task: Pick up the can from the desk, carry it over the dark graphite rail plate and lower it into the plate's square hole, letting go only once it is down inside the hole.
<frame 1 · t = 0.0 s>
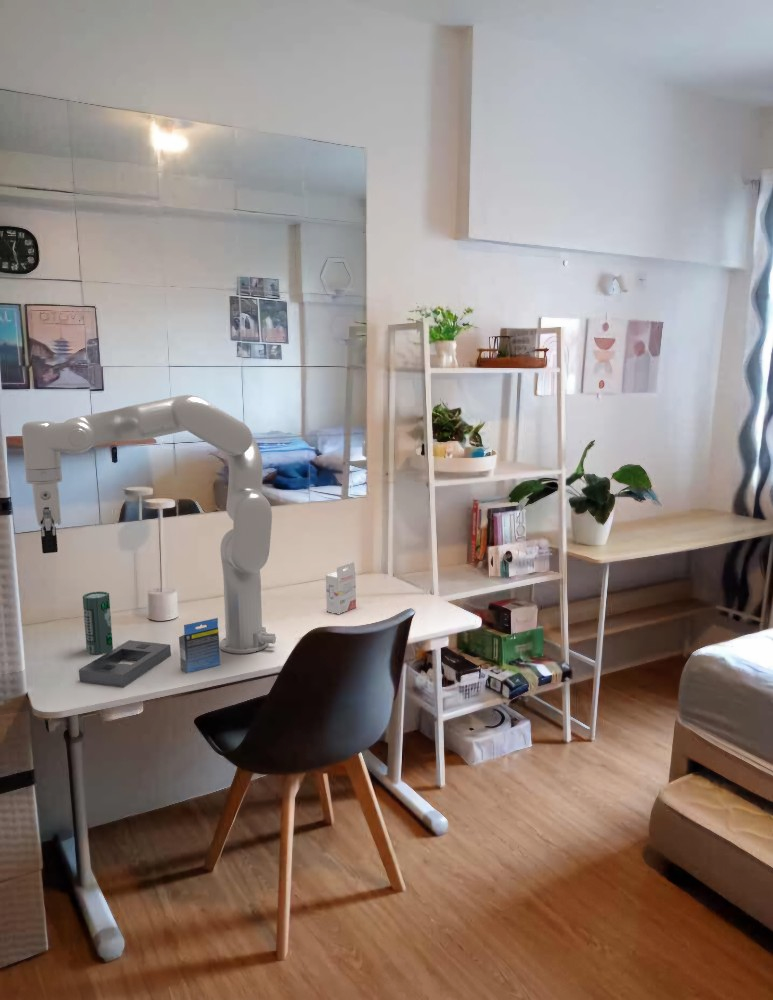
hand: (49, 548, 176), 31 cm above the table, tool pointing down, fingers open, 9 cm apart
can: (99, 651, 197), on the table
label tape cartridge: (200, 667, 186), on the table
ink cartridge box: (341, 610, 229), on the table
rail plate: (127, 668, 185), on the table
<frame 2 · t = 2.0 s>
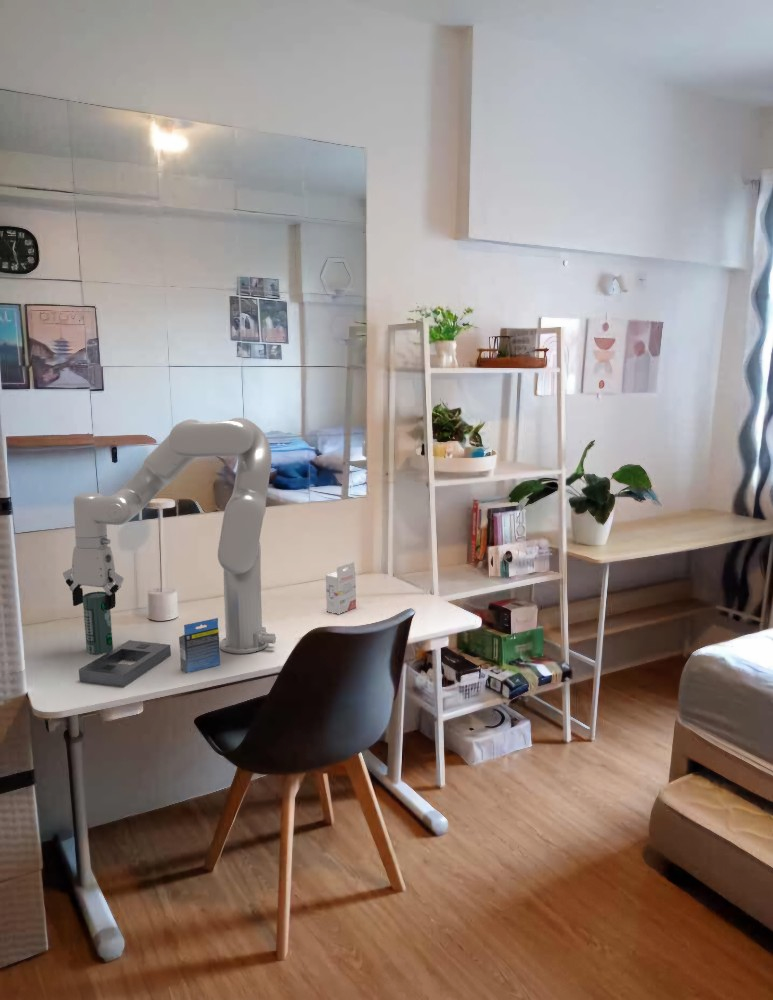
hand: (94, 606, 195), 12 cm above the table, tool pointing down, fingers open, 9 cm apart
nothing on the table moved.
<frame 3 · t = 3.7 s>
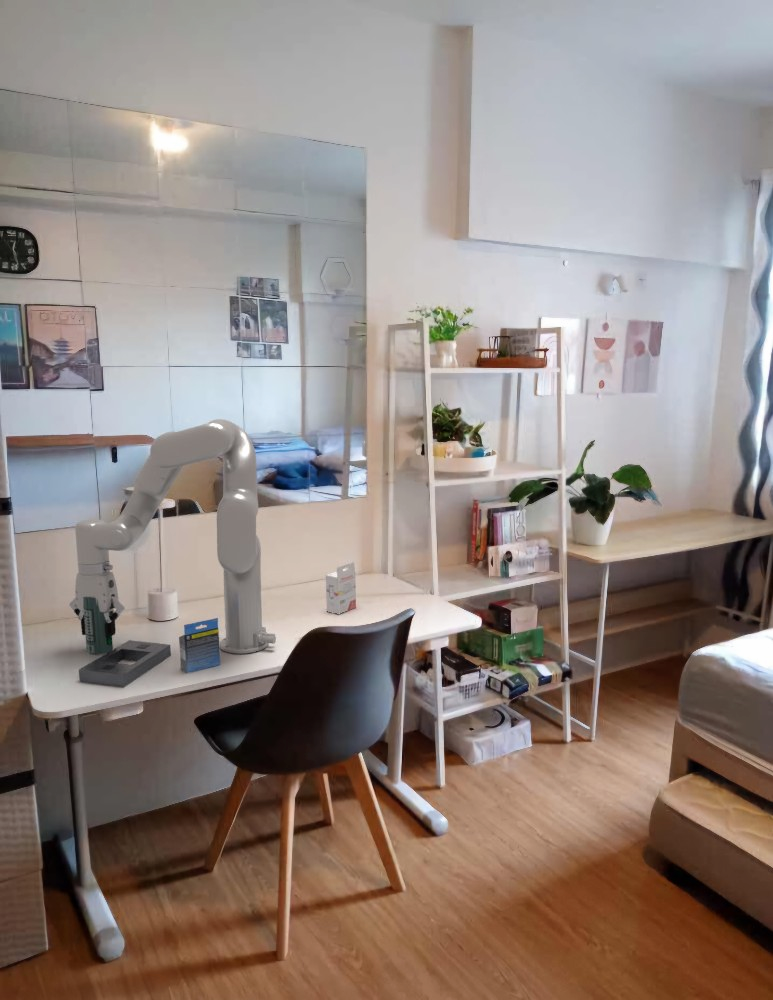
hand: (98, 634, 196), 4 cm above the table, tool pointing down, fingers closed on can, 6 cm apart
can: (99, 650, 197), on the table, touching gripper
everything else where it was.
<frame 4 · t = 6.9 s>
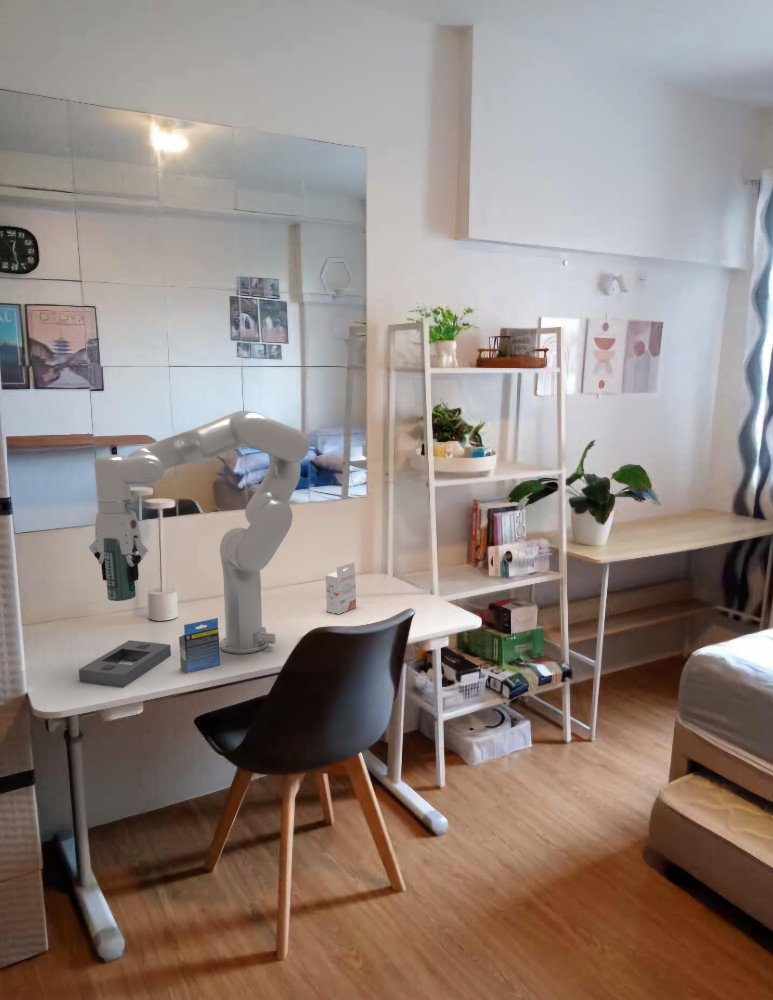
hand: (120, 579, 182), 22 cm above the table, tool pointing down, fingers closed on can, 6 cm apart
can: (122, 597, 183), point 18 cm above the table, touching gripper
everything else where it was.
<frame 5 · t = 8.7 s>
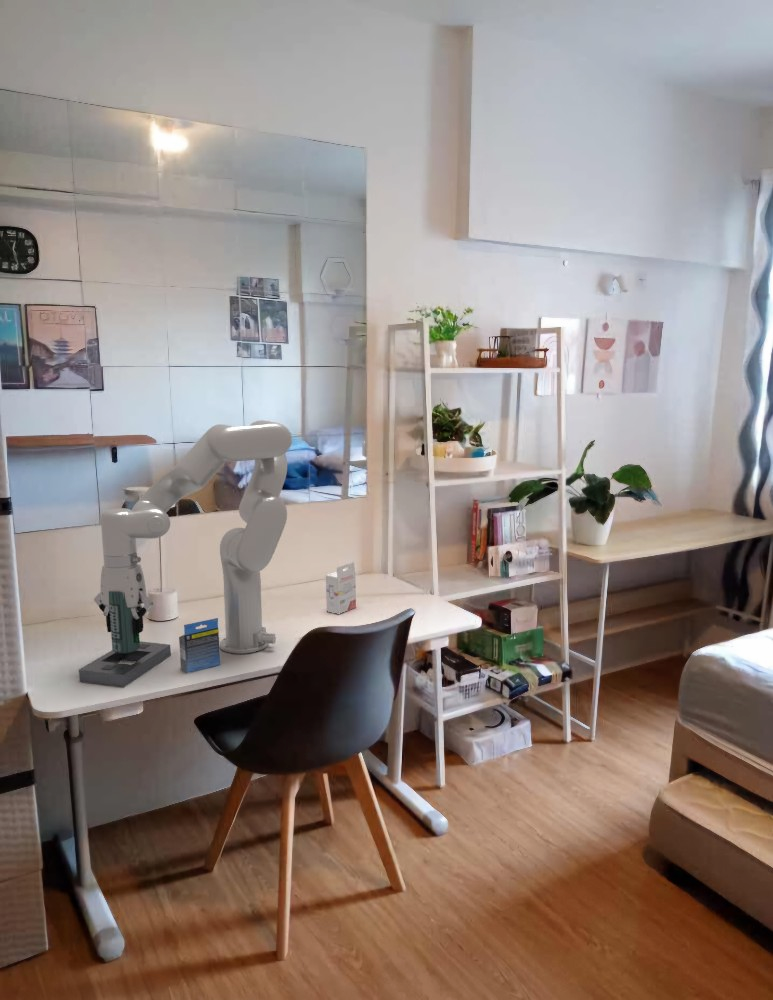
hand: (125, 631, 183), 10 cm above the table, tool pointing down, fingers closed on can, 6 cm apart
can: (126, 649, 184), point 5 cm above the table, touching gripper
everything else where it was.
when the fingers open (6 cm above the table, at t = 10.4 s): can drops 1 cm, resting in rail plate.
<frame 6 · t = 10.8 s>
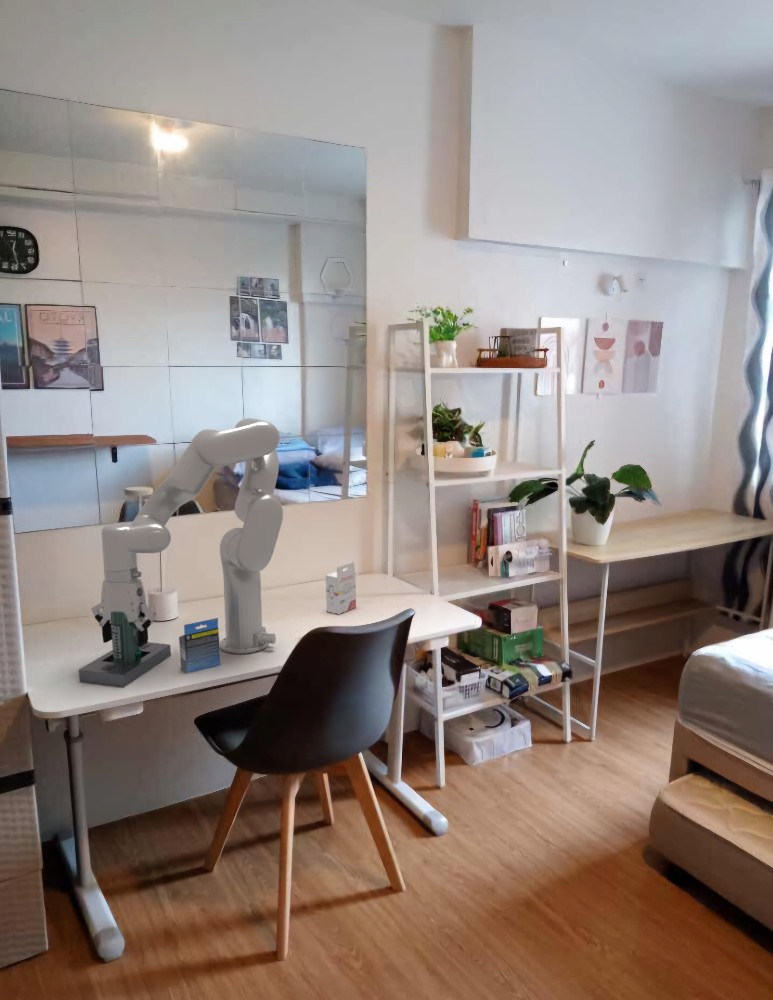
hand: (125, 642, 184), 7 cm above the table, tool pointing down, fingers open, 9 cm apart
can: (127, 668, 185), resting in rail plate
everything else where it was.
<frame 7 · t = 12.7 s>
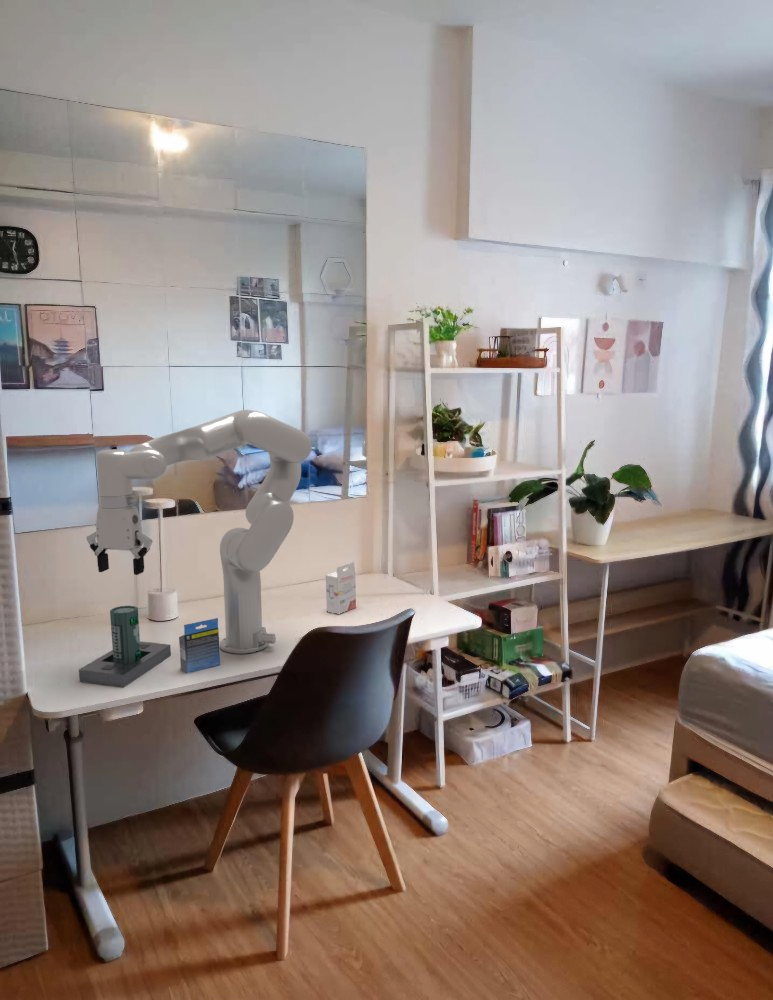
hand: (121, 572, 181), 24 cm above the table, tool pointing down, fingers open, 9 cm apart
nothing on the table moved.
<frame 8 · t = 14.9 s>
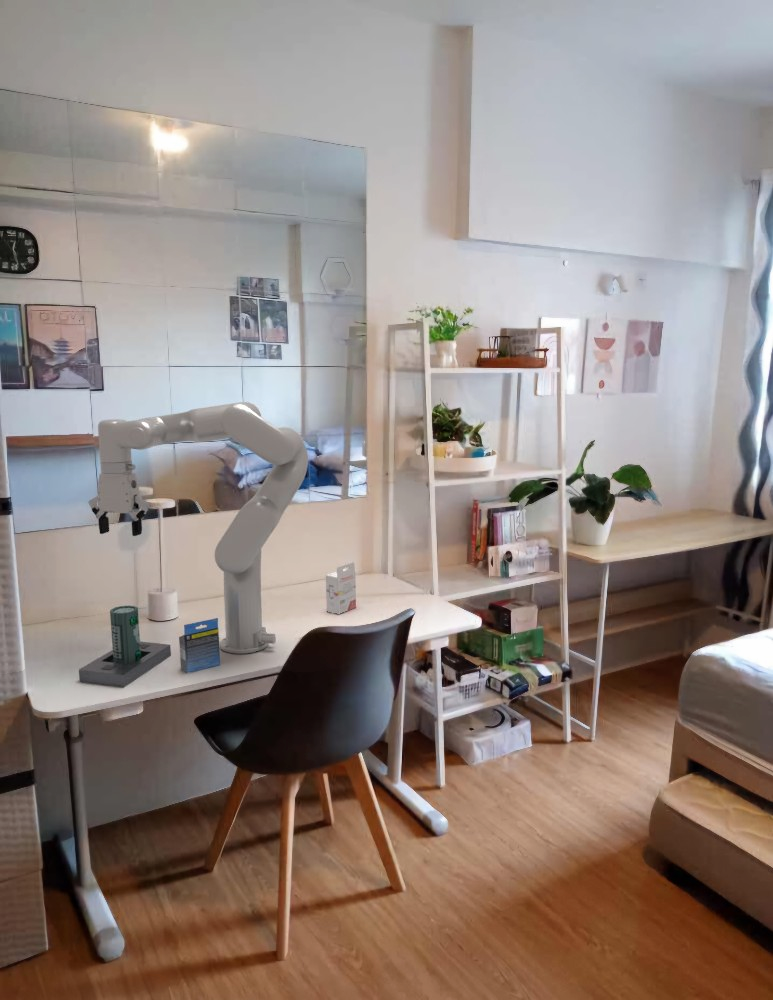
hand: (120, 533, 195), 30 cm above the table, tool pointing down, fingers open, 9 cm apart
nothing on the table moved.
at the end: can 0.1 cm off-centre on the rail plate, point 0.0 cm above the rail plate's base; can tilted 0°; the gripper is holding nothing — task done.
